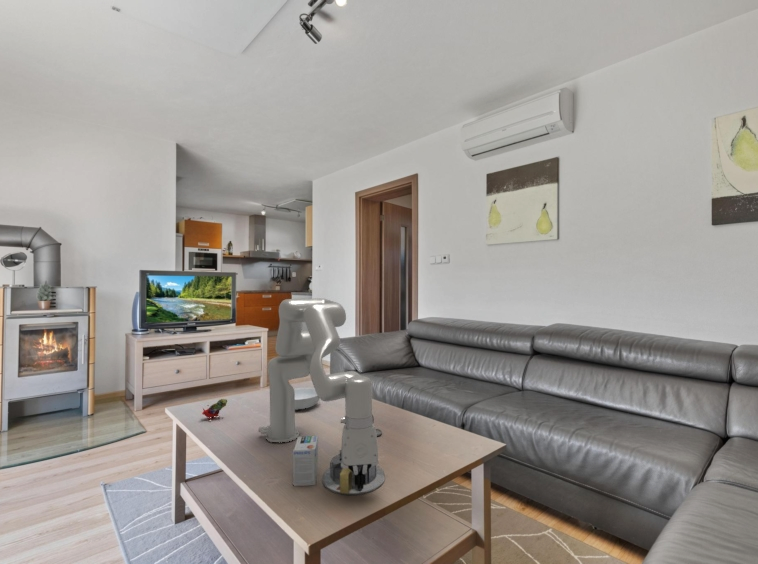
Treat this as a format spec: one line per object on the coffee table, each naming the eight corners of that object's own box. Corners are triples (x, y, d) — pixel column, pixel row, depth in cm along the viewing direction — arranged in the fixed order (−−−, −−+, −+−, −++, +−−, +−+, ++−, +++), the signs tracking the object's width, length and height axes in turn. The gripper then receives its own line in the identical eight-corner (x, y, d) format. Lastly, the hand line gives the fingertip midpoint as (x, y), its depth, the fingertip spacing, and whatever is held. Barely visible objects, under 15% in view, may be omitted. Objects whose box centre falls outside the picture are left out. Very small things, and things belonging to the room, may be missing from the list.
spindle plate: (320, 497, 107) (320, 461, 107) (324, 465, 126) (323, 435, 126) (388, 493, 109) (387, 457, 109) (381, 462, 128) (381, 432, 128)
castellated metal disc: (323, 469, 121) (323, 452, 121) (365, 460, 127) (365, 444, 127) (341, 495, 106) (341, 476, 106) (388, 483, 112) (388, 465, 112)
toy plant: (218, 429, 172) (230, 412, 168) (196, 423, 168) (207, 405, 164) (221, 415, 179) (233, 398, 175) (200, 409, 175) (211, 391, 171)
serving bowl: (286, 400, 200) (286, 387, 200) (325, 401, 198) (325, 388, 198) (270, 413, 180) (270, 398, 180) (313, 414, 177) (313, 399, 177)
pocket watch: (380, 438, 149) (379, 412, 149) (359, 436, 150) (358, 411, 151) (384, 430, 157) (383, 405, 157) (364, 429, 159) (363, 404, 159)
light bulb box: (297, 469, 124) (297, 436, 124) (318, 468, 124) (318, 435, 125) (292, 486, 113) (292, 449, 113) (315, 485, 114) (315, 448, 114)
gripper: (332, 427, 104) (333, 496, 104) (387, 423, 106) (388, 491, 106) (332, 418, 111) (333, 482, 111) (382, 415, 114) (384, 478, 113)
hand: (360, 486), depth 108 cm, fingers closed
